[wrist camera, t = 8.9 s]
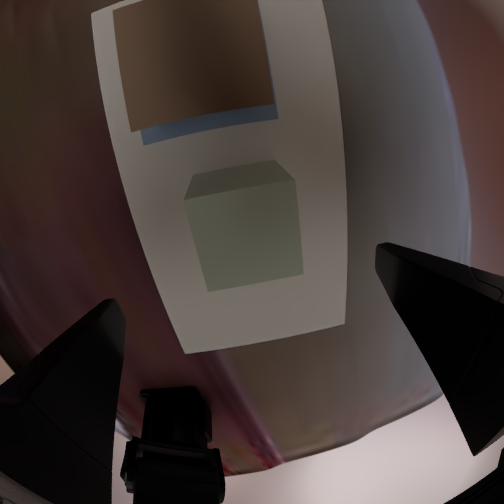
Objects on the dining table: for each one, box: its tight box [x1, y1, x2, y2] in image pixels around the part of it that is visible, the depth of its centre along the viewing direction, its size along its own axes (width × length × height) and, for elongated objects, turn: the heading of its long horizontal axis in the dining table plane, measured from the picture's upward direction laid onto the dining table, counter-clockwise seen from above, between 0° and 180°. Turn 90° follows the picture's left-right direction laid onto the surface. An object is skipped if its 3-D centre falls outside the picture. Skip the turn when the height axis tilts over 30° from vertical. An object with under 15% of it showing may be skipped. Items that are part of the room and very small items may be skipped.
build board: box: [91, 0, 347, 354], centre depth 18 cm, size 14×27×1 cm, turn 9°
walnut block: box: [113, 0, 274, 133], centre depth 11 cm, size 6×6×5 cm
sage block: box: [183, 160, 304, 292], centre depth 16 cm, size 5×5×5 cm
